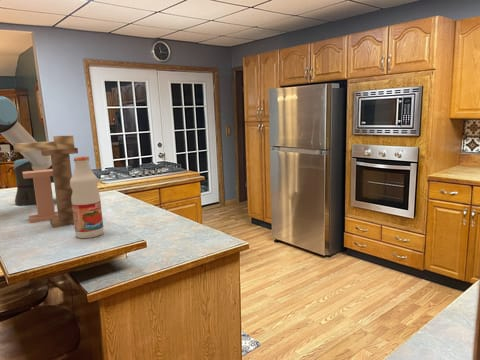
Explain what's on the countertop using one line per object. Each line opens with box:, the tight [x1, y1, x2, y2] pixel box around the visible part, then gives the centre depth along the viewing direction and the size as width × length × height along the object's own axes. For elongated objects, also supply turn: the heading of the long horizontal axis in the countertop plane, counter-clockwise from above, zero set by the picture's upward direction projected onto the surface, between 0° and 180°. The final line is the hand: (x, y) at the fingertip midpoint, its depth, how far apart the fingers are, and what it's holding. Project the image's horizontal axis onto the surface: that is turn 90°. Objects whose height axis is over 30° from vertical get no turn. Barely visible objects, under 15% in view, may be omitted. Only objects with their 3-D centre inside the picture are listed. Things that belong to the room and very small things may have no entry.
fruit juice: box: [70, 155, 104, 239], centre depth 128 cm, size 9×9×28 cm
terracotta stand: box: [22, 169, 59, 224], centre depth 153 cm, size 13×8×20 cm, turn 123°
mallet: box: [12, 134, 76, 153], centre depth 139 cm, size 20×7×5 cm, turn 126°
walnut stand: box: [41, 147, 79, 228], centre depth 145 cm, size 12×9×30 cm
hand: (1, 148), depth 139 cm, fingers open, 13 cm apart
